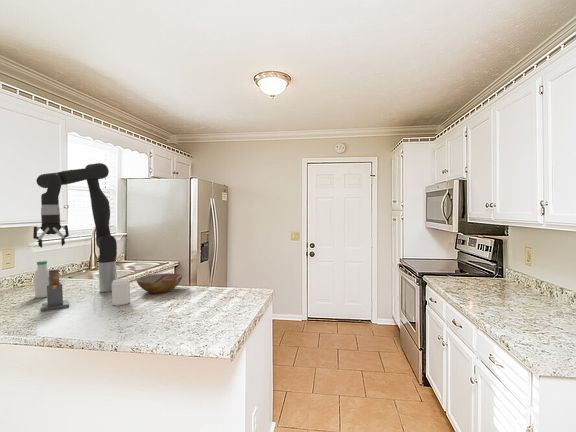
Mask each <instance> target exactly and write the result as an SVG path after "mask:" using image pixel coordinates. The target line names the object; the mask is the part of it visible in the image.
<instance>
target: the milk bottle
mask: <svg viewBox="0 0 576 432" xmlns="http://www.w3.org/2000/svg"><path fill="white" fill-rule="evenodd" d="M36 265H37V268H36V271H35V273H34V277H33V281H34V282H33V283H34V284H33V285H34V297H35V299H36V298H37V299H40V298H47V284H49V270H50V269H49V268H48V261H47V260H39V261H37V262H36Z"/></svg>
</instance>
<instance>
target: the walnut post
mask: <svg viewBox="0 0 576 432" xmlns="http://www.w3.org/2000/svg"><path fill="white" fill-rule="evenodd" d="M48 270H49V284H50V285H57V284H59V282H60V269H59V268H52V269H48Z"/></svg>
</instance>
